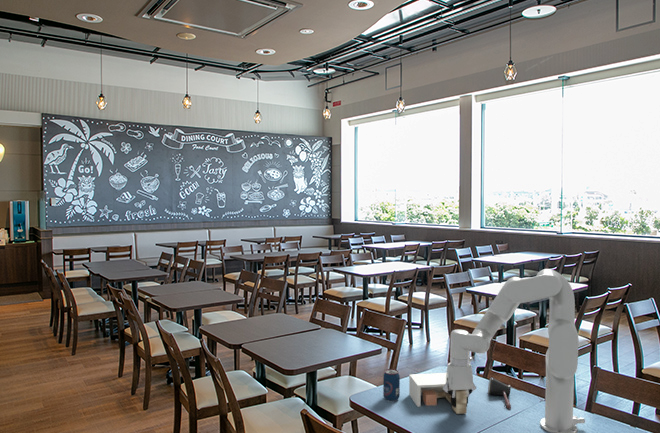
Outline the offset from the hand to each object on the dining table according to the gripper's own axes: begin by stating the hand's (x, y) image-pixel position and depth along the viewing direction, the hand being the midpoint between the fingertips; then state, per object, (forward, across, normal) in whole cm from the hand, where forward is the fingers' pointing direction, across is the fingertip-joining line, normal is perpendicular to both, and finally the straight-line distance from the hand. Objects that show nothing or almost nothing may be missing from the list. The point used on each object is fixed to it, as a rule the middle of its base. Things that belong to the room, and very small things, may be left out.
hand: (459, 405), depth 194 cm
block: (+3, +9, -10) cm, 13 cm away
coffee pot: (+3, -22, -9) cm, 24 cm away
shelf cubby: (+3, +5, -13) cm, 14 cm away
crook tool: (+2, +2, -6) cm, 7 cm away
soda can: (+3, +24, -16) cm, 29 cm away
